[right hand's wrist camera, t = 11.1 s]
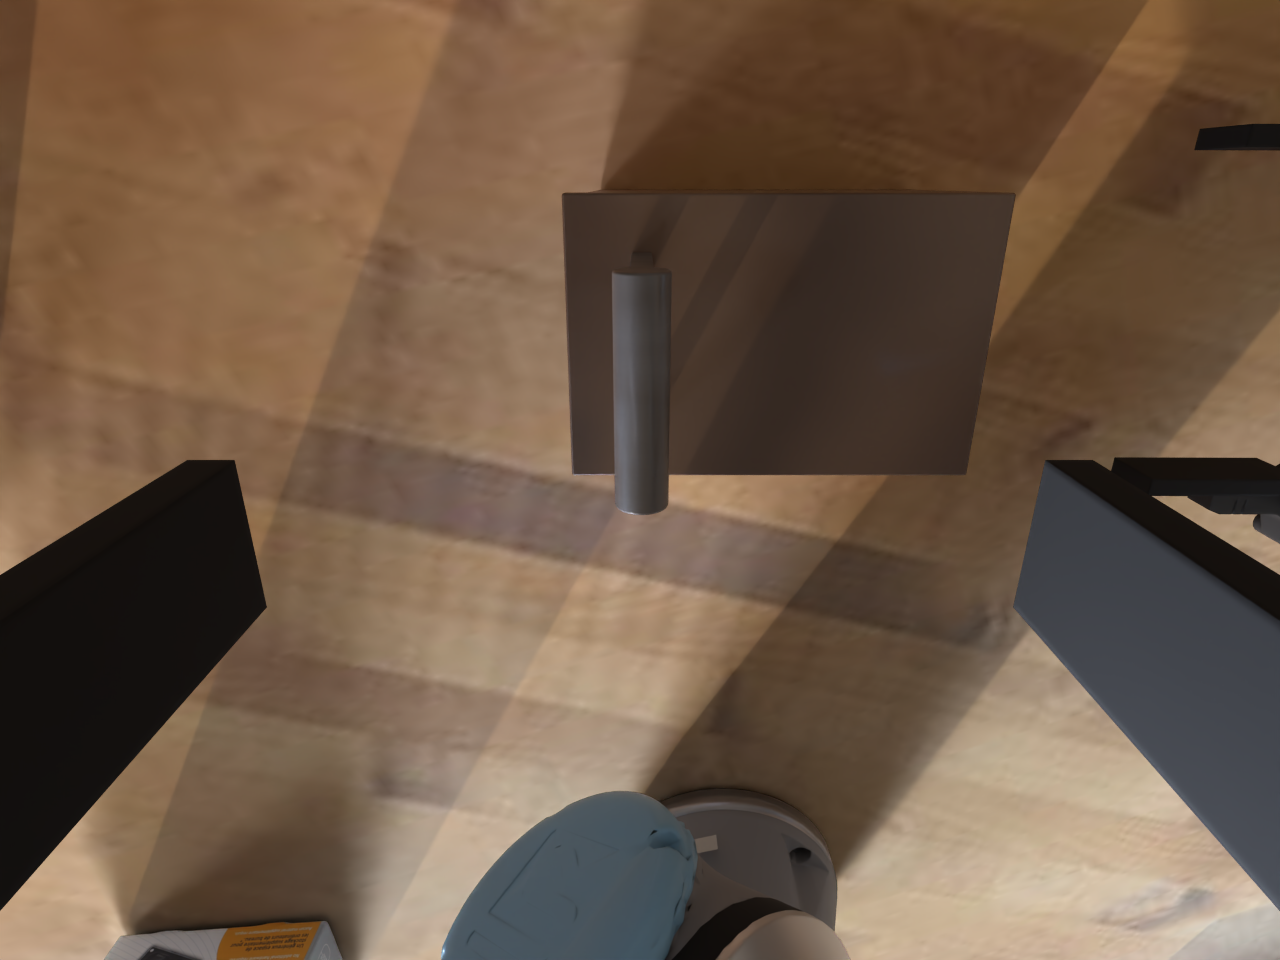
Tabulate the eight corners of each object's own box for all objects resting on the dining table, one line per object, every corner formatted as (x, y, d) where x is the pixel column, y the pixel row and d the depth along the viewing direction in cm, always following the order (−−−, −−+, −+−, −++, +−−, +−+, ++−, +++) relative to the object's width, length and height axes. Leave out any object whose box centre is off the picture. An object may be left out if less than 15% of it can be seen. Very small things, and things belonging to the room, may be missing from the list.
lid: (574, 464, 29) (549, 570, 21) (564, 192, 26) (530, 197, 18) (954, 465, 29) (1072, 571, 21) (1001, 192, 26) (1164, 197, 18)
